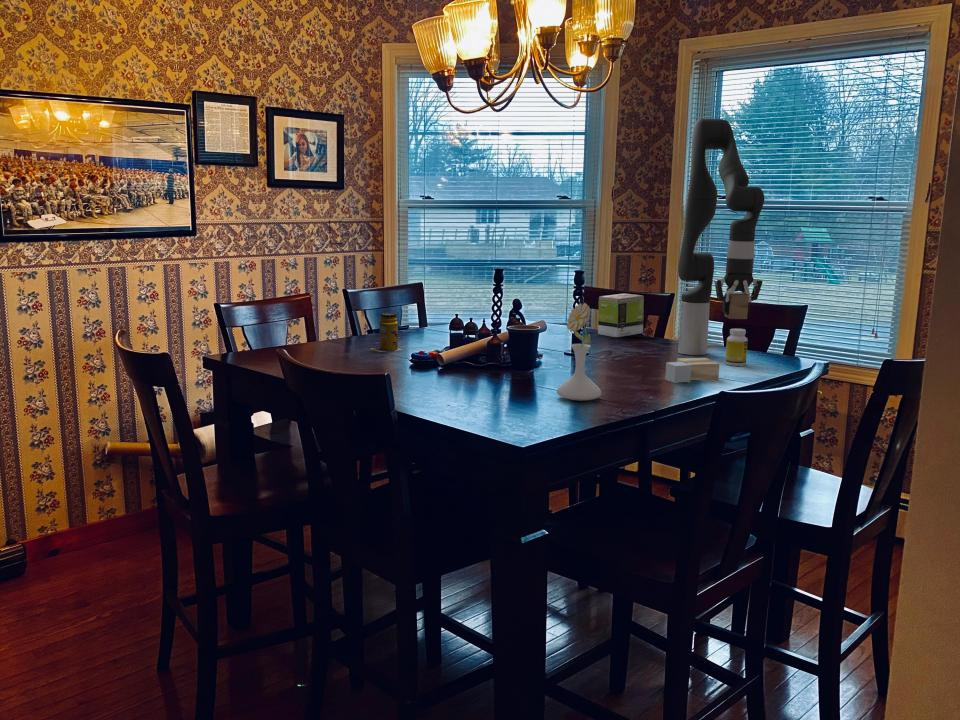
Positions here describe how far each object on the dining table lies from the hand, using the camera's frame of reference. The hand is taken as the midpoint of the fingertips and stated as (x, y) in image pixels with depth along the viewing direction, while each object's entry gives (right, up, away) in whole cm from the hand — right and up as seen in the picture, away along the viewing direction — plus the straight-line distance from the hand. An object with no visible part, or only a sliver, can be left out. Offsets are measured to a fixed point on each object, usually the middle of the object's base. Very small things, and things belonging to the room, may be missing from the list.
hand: (735, 314), depth 247 cm
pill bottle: (+4, -15, +14) cm, 21 cm away
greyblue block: (-20, -20, -10) cm, 30 cm away
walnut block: (0, -1, 0) cm, 1 cm away
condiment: (-107, -10, +32) cm, 112 cm away
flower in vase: (-50, -24, -34) cm, 65 cm away
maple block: (-13, -19, -5) cm, 23 cm away
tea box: (-22, -4, +70) cm, 74 cm away
